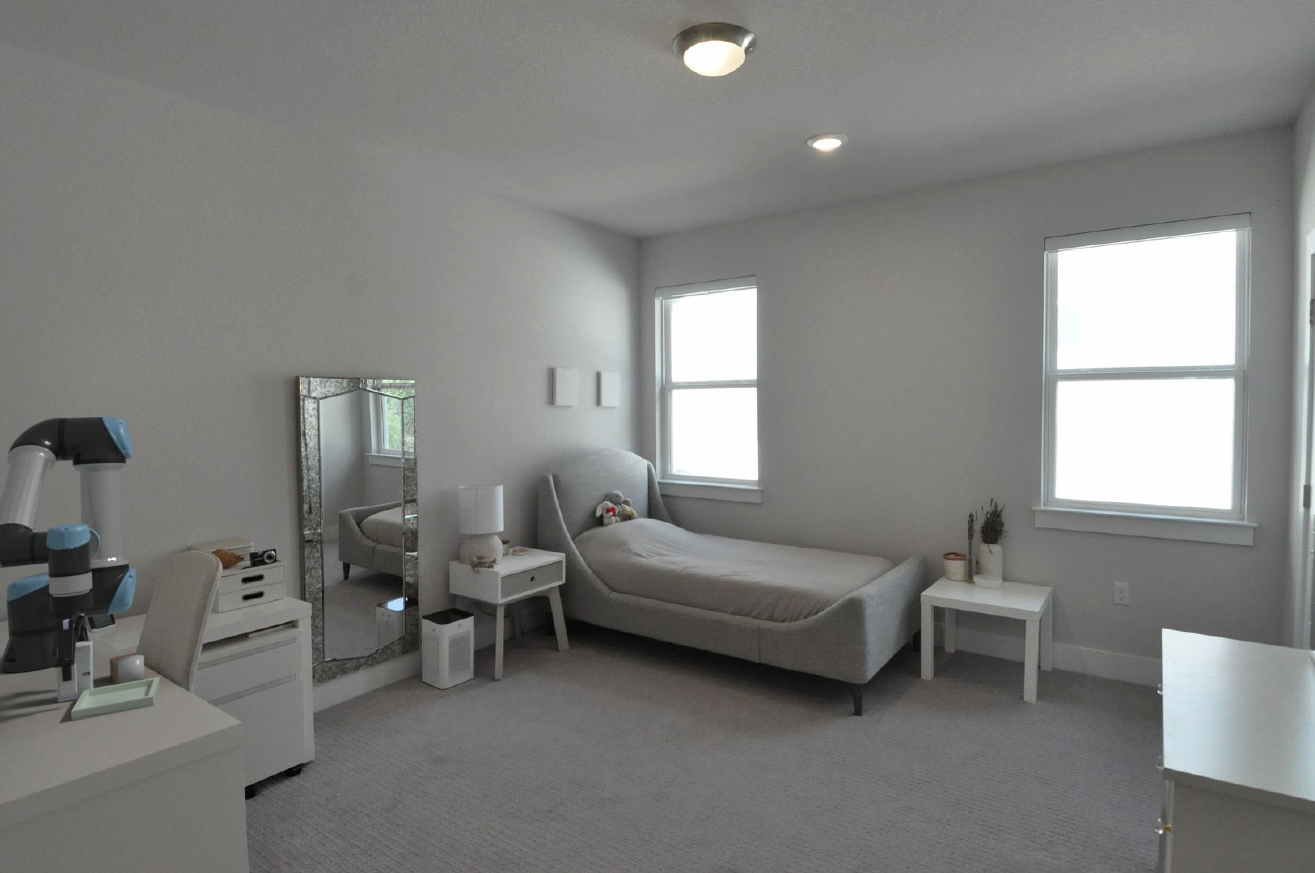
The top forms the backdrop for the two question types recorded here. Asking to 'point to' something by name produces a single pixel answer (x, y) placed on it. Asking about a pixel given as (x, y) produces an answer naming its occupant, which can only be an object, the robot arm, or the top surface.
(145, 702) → the sage dish
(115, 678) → the walnut block
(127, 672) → the grey smooth rounded part
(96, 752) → the top surface
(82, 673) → the skincare box
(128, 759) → the top surface
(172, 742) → the top surface
